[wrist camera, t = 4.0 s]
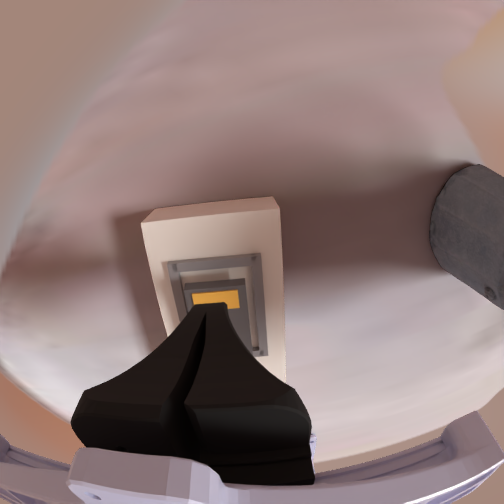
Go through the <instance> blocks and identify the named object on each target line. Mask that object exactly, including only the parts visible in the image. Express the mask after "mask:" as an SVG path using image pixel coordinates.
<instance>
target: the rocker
mask: <svg viewBox="0 0 504 504" xmlns="http://www.w3.org/2000/svg"><path fill="white" fill-rule="evenodd" d="M183 291H184V296H185V300H186V305H187V309H188V312H189V311H190V310H191V308H192V307H193V306H194V305H195V304H205V303H218V302H225V303H226V304H227V307H228V314H229V318H230V320H231V323H232V325H233V327H234V329H235V331H236V332H237V334H238V336H239V337H240V339H241V341H242V342H243V344H244V345H245V346H246V348H247V349H248V350H249V351H250V353H251V354H252V355H253V349H252V340H251V331H250V321H249V312H248V302H247V292H246V283H245V278H239V279H228V280H217V281H205V282H193V283H185V286H184V290H183Z"/></svg>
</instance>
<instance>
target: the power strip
mask: <svg viewBox="0 0 504 504" xmlns="http://www.w3.org/2000/svg"><path fill="white" fill-rule="evenodd" d="M141 228H142V233H143V238H144V243H145V248H146V252H147V257H148V262H149V266H150V270H151V275H152V279H153V283H154V287H155V291H156V295H157V299H158V303H159V307H160V311H161V314H162V318H163V322H164V325H165V329H166V332H167V336H169V335H170V334H171V333H172V332H173V331H174V330H175V328H176V327H177V326H178V325H179V324H180V322H181V321H182V320H183V319H184V317H185V316H186V315H187V314H188V309H187V305H186V300H185V296H184V291H183V290H184V286H185V283H193V282H205V281H217V280H228V279H239V278H245V283H246V292H247V302H248V312H249V321H250V331H251V340H252V349H253V356H254V357H255V358H256V360H257V361H258V362H259V363H261V364H262V365H263V366H264V367H265V368H266V369H267V370H268V371H269V372H270V373H272V374H273V375H274V376H276V377H277V378H278V379H280V380H281V381H283V382H284V383H286V355H285V315H284V285H283V260H282V239H281V219H280V208H279V206H278V205H277V203H276V201H275V199H274V198H273V196H271V197H259V198H248V199H237V200H227V201H217V202H207V203H198V204H190V205H181V206H173V207H165V208H157V209H154V210H153V211H152V212H151V213H150V214H149V215H148V216H147V217H146V218H145V219H144V220H143V221H142V222H141Z"/></svg>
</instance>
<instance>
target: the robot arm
mask: <svg viewBox="0 0 504 504" xmlns="http://www.w3.org/2000/svg"><path fill="white" fill-rule="evenodd" d="M71 426H72V429H73V431H74V432H75V434H76V435H77V437H78V438H79V439H80V440H81V442H82V443H83V444H84V445H85V446H86V448H79V449H78V451H77V452H76V453H75V455H74V458H73V461H72V464H71V465H70V464H66V463H62V462H59V461H55V460H52V459H49V458H45V457H42V456H39V455H36V454H33V453H30V452H28V451H25V450H22V449H19V448H17V447H14V446H12V445H10V444H9V442H8V441H7V440H6V439H5V438H4V437H3V436H2V435H1V434H0V498H2V499H4V500H6V501H8V502H10V503H11V504H451V503H453V502H454V501H456V500H458V499H460V498H462V497H464V496H465V495H467V494H469V493H471V492H472V491H474V490H475V489H476V488H477V487H478V486H479V485H480V484H482V483H483V482H484V481H485V480H486V479H487V478H488V477H489V476H490V475H491V474H492V473H493V472H494V471H495V470H496V469H497V468H498V467H499V466H500V465H501V464H502V463H503V462H504V452H503V451H502V449H501V447H500V445H499V444H498V442H497V440H496V439H495V437H494V436H493V434H492V433H491V431H490V429H489V428H488V426H487V425H486V423H485V422H484V420H483V418H482V417H481V415H480V414H479V412H478V411H473V412H471V413H469V414H467V415H465V416H463V417H461V418H458V419H456V420H454V421H453V422H451V423H450V424H449V425H447V427H446V428H445V429H444V431H443V433H442V435H441V436H440V437H438V438H436V439H433V440H431V441H428V442H426V443H423V444H421V445H418V446H415V447H413V448H410V449H407V450H404V451H401V452H399V453H395V454H392V455H389V456H386V457H382V458H379V459H376V460H372V461H369V462H365V463H361V464H357V465H353V466H349V467H345V468H340V469H336V470H331V471H326V472H321V473H315V470H314V465H313V458H314V452H315V446H316V440H317V438H316V435H311V428H312V426H311V419H310V417H309V414H308V412H307V409H306V407H305V405H304V404H303V402H302V400H301V398H300V397H299V395H298V394H297V392H296V391H295V389H294V388H292V387H291V386H289V385H287V384H286V383H284V382H283V381H281V380H280V379H278V378H277V377H276V376H274V375H273V374H272V373H270V372H269V371H268V370H267V369H266V368H265V367H264V366H263V365H262V364H261V363H259V362H258V361H257V360H256V358H255V357H254V356H253V355H252V354H251V353H250V351H249V350H248V349H247V348H246V346H245V345H244V344H243V342H242V341H241V339H240V337H239V336H238V334H237V332H236V331H235V329H234V327H233V325H232V323H231V320H230V318H229V314H228V307H227V304H226V303H225V302H218V303H205V304H195V305H194V306H193V307H192V308H191V310H190V311H189V312H188V314H187V315H186V316H185V317H184V319H183V320H182V321H181V322H180V324H179V325H178V326H177V327H176V328H175V330H174V331H173V332H172V333H171V334H170V335H169V336H168V337H167V338H166V340H165V341H164V342H163V343H162V344H161V345H160V346H159V347H157V348H156V349H155V350H154V351H153V352H152V353H151V354H149V355H148V356H147V357H146V358H144V359H143V360H142V361H140V362H139V363H137V364H136V365H134V366H133V367H131V368H130V369H128V370H127V371H125V372H123V373H122V374H120V375H118V376H116V377H114V378H113V379H111V380H109V381H107V382H104V383H102V384H100V385H97V386H95V387H92V388H90V389H87V390H85V391H84V392H83V394H82V396H81V398H80V400H79V402H78V405H77V407H76V409H75V411H74V414H73V416H72V419H71Z"/></svg>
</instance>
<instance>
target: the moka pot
mask: <svg viewBox="0 0 504 504" xmlns="http://www.w3.org/2000/svg"><path fill="white" fill-rule="evenodd" d="M429 233H430V244H431V247H432V250H433V253H434V255H435V257H436V259H437V260H438V262H439V264H440V266H441V267H442V268H443V269H444V270H446V271H447V272H449V273H450V274H452V275H453V276H454V277H456V278H457V279H459V280H460V281H462V282H464V283H465V284H467V285H468V286H470V287H471V288H472V289H474V290H475V291H477V292H478V293H479V294H481V295H482V296H484V297H485V298H487V299H488V300H489V301H491V302H492V303H493V304H495V305H496V306H498V307H499V308H501V309H503V310H504V177H502V176H501V175H499V174H497V173H496V172H494V171H492V170H491V169H489V168H487V167H485V166H483V165H480V164H478V165H473V166H470V167H467V168H464V169H462V170H460V171H458V172H456V173H455V174H454V175H453V176H452V177H451V178H450V179H449V180H448V182H447V183H446V184H445V186H444V188H443V189H442V191H441V193H440V194H439V196H438V197H437V200H436V203H435V206H434V209H433V211H432V216H431V224H430V232H429Z"/></svg>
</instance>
